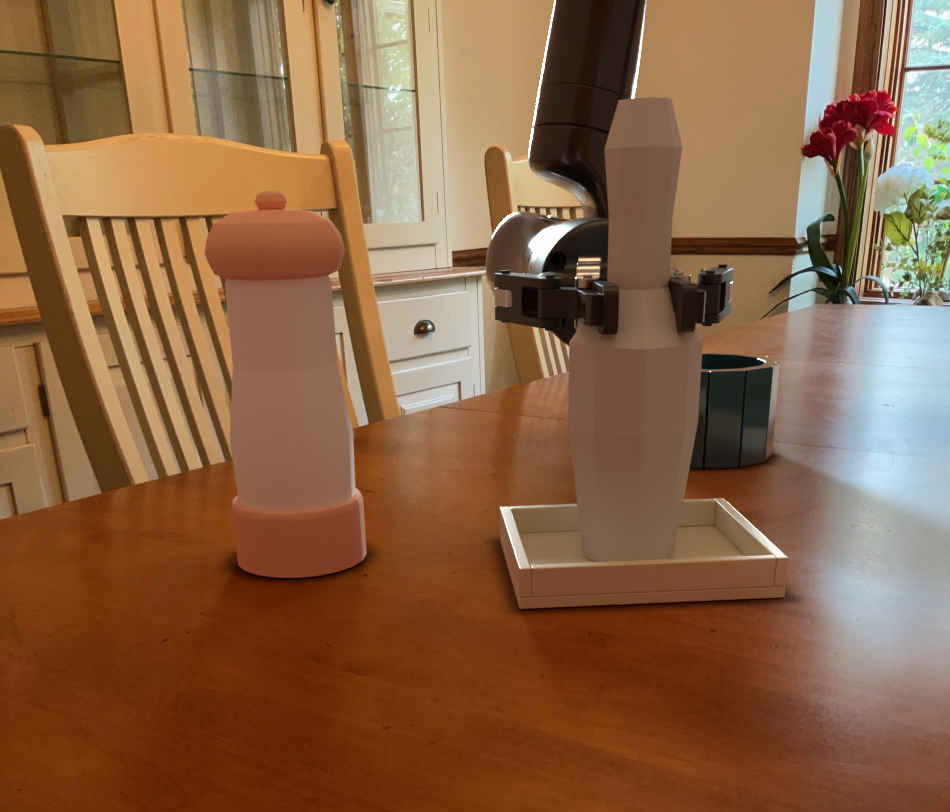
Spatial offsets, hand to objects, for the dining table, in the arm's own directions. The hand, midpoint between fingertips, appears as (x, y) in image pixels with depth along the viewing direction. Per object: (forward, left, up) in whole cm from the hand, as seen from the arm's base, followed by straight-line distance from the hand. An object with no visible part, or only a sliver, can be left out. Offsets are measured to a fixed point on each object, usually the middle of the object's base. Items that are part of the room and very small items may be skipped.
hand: (650, 310), depth 49 cm
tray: (0, -3, -14) cm, 14 cm away
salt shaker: (+18, -7, -14) cm, 24 cm away
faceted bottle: (0, -3, -13) cm, 14 cm away
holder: (-11, -29, -14) cm, 34 cm away
